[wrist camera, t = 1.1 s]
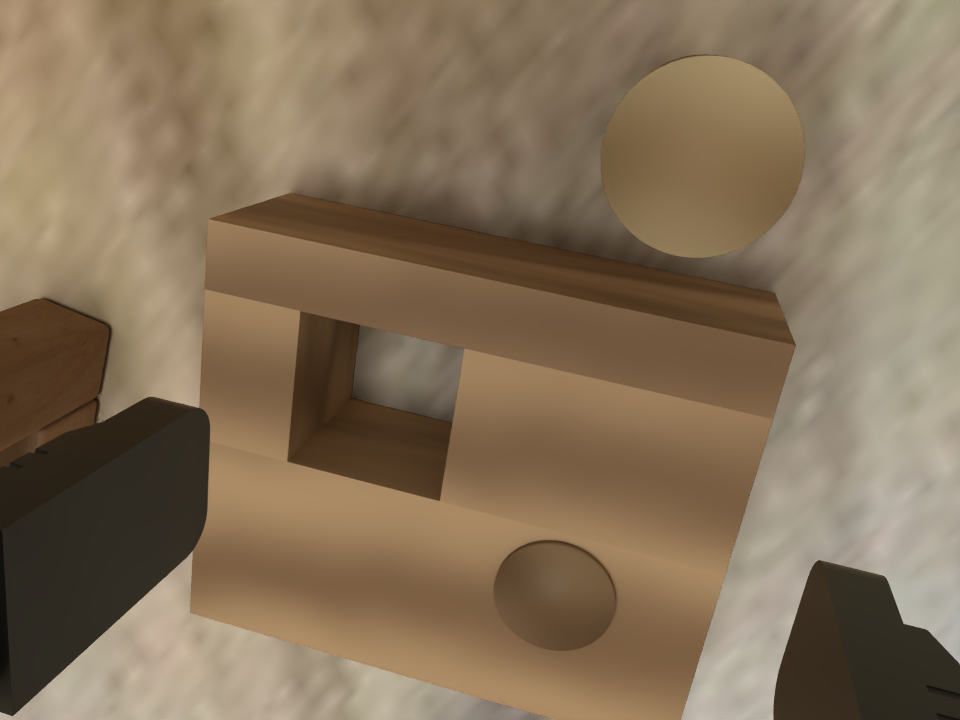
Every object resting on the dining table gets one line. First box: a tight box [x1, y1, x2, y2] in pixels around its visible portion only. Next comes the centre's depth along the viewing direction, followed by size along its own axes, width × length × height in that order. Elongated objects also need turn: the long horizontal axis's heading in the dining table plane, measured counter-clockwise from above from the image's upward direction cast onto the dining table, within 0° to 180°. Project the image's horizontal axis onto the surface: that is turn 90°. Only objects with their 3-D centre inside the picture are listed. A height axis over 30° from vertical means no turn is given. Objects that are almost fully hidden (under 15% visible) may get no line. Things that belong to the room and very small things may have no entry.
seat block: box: [190, 193, 796, 720], centre depth 31 cm, size 15×18×6 cm
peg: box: [601, 55, 805, 258], centre depth 23 cm, size 4×4×12 cm
